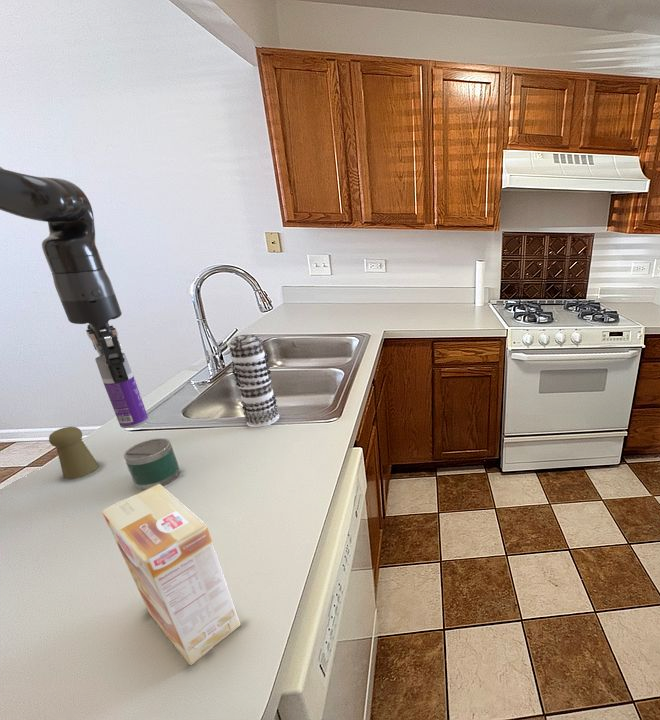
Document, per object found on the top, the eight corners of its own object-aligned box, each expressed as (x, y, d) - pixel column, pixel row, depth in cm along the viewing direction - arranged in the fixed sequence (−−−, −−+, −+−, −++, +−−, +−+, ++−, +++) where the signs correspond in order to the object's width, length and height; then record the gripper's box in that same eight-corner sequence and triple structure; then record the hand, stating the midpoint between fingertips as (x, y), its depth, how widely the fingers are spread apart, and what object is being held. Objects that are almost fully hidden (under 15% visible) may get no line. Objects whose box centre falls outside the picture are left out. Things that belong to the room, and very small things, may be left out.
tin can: (127, 492, 85) (114, 461, 82) (147, 469, 92) (136, 440, 89) (169, 487, 87) (158, 456, 84) (186, 465, 94) (177, 436, 91)
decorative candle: (287, 417, 115) (270, 335, 106) (256, 431, 108) (235, 345, 98) (270, 408, 120) (252, 329, 110) (238, 422, 112) (216, 338, 103)
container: (152, 420, 84) (129, 354, 79) (125, 430, 81) (99, 362, 75) (142, 414, 87) (119, 350, 81) (116, 424, 83) (90, 357, 77)
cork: (61, 482, 88) (41, 440, 84) (65, 469, 93) (45, 429, 88) (98, 471, 92) (80, 431, 88) (99, 459, 96) (82, 420, 92)
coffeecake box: (144, 609, 61) (98, 510, 53) (196, 575, 66) (160, 481, 59) (188, 669, 53) (141, 562, 46) (243, 624, 58) (208, 523, 51)
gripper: (55, 292, 75) (88, 374, 82) (64, 304, 67) (100, 394, 73) (107, 286, 81) (134, 364, 87) (121, 296, 72) (150, 381, 78)
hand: (118, 377), depth 80 cm, fingers closed on container, 4 cm apart
